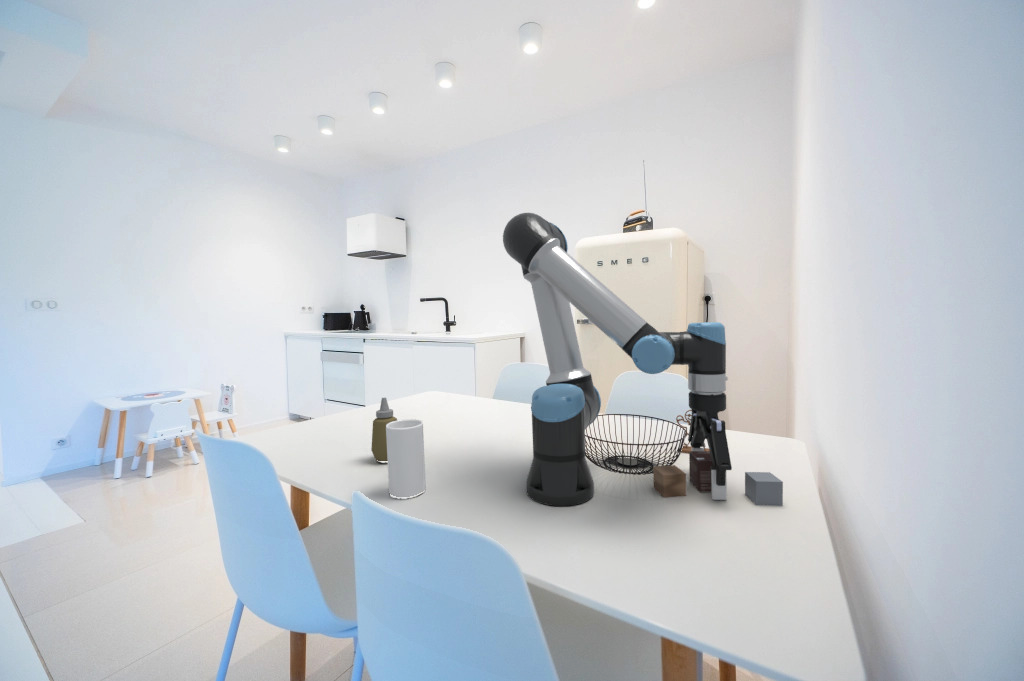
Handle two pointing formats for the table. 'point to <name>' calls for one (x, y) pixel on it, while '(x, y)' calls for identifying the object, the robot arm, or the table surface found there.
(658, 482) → the walnut block
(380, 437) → the squeeze bottle
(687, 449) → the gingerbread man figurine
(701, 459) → the box
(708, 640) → the table surface
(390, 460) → the cup
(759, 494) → the grey block
